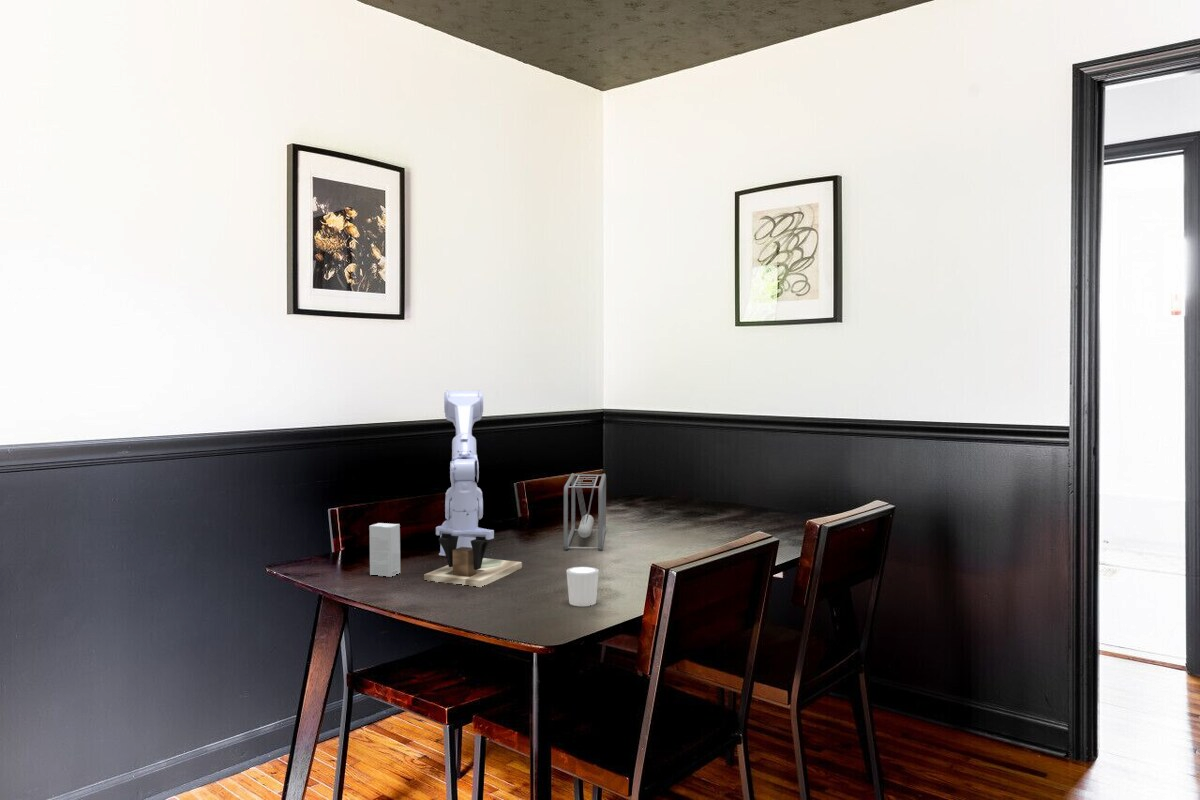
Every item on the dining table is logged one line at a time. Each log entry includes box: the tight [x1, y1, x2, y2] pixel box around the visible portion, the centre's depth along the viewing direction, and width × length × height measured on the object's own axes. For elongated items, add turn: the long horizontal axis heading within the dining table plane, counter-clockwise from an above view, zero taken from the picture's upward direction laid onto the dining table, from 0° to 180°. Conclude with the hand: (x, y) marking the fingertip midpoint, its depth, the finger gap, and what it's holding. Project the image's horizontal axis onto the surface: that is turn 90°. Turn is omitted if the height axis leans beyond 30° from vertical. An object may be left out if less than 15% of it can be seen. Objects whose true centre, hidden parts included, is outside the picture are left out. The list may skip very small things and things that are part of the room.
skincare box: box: [368, 522, 401, 578], centre depth 203 cm, size 6×4×12 cm
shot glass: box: [566, 566, 600, 607], centre depth 179 cm, size 7×7×7 cm
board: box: [423, 557, 523, 588], centre depth 203 cm, size 15×20×2 cm
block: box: [453, 547, 477, 577], centre depth 199 cm, size 4×4×7 cm
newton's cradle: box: [563, 472, 607, 551], centre depth 244 cm, size 30×10×18 cm, turn 178°
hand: (464, 567), depth 199 cm, fingers open, 6 cm apart
